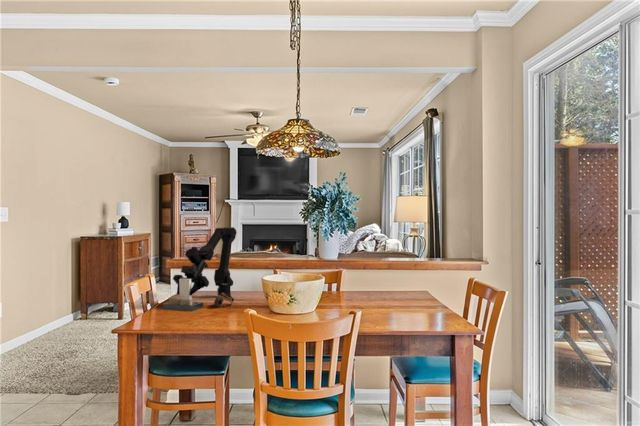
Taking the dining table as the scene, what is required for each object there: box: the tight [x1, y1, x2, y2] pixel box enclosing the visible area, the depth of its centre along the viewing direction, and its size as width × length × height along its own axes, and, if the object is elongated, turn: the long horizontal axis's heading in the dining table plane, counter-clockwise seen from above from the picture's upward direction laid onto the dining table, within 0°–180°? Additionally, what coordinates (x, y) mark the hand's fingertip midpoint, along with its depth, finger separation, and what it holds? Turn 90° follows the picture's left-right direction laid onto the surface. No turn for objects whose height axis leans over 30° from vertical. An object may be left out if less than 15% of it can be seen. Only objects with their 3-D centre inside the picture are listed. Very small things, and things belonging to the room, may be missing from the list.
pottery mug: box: [213, 293, 235, 309], centre depth 233 cm, size 12×9×8 cm
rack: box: [162, 301, 205, 312], centre depth 230 cm, size 10×18×3 cm, turn 68°
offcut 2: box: [180, 298, 193, 305], centre depth 227 cm, size 2×6×5 cm, turn 68°
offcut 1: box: [168, 297, 181, 304], centre depth 229 cm, size 2×6×5 cm, turn 68°
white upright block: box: [179, 279, 193, 300], centre depth 232 cm, size 2×6×14 cm, turn 68°
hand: (183, 294), depth 230 cm, fingers open, 7 cm apart
